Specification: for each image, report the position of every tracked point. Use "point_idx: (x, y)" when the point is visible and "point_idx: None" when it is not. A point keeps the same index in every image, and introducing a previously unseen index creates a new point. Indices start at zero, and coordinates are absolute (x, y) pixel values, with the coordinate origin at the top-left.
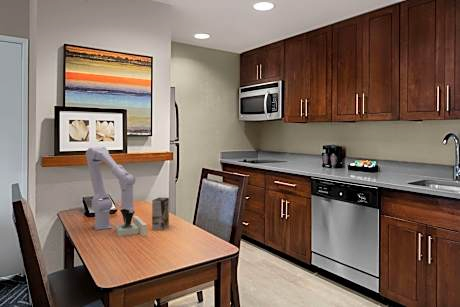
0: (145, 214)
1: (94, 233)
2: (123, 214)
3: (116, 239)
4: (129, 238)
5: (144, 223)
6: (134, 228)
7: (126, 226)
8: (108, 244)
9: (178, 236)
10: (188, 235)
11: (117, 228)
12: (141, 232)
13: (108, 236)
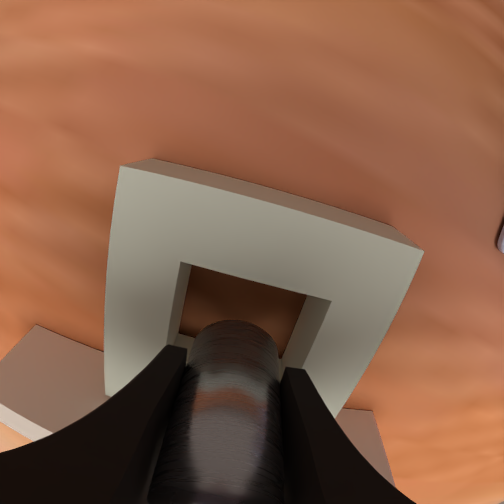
0: (474, 486)
1: (459, 25)
2: (311, 494)
3: (77, 95)
4: (37, 218)
5: (17, 428)
6: (105, 359)
7: (202, 331)
8: (22, 8)
9: (2, 423)
10: (9, 445)
11: (248, 197)
12: (55, 354)
13: (243, 56)
